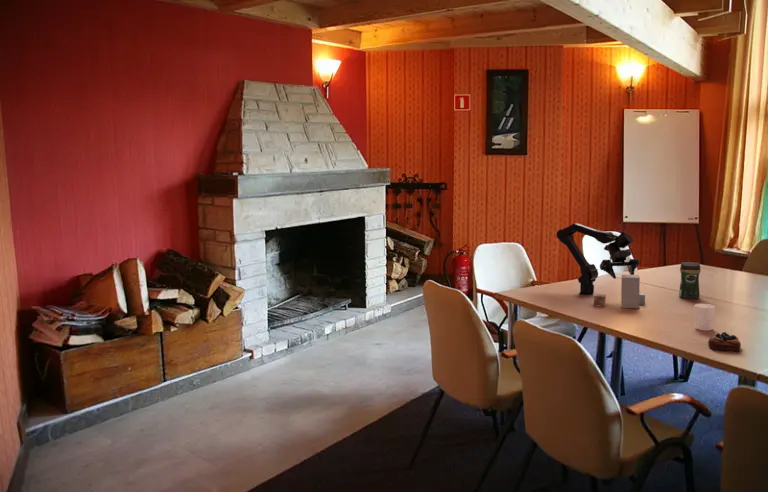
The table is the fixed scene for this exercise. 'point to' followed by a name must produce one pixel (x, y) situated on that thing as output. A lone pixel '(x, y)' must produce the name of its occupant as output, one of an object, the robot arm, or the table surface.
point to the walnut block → (599, 299)
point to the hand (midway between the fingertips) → (624, 278)
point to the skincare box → (630, 291)
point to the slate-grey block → (642, 298)
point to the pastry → (724, 342)
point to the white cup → (704, 316)
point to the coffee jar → (689, 280)
